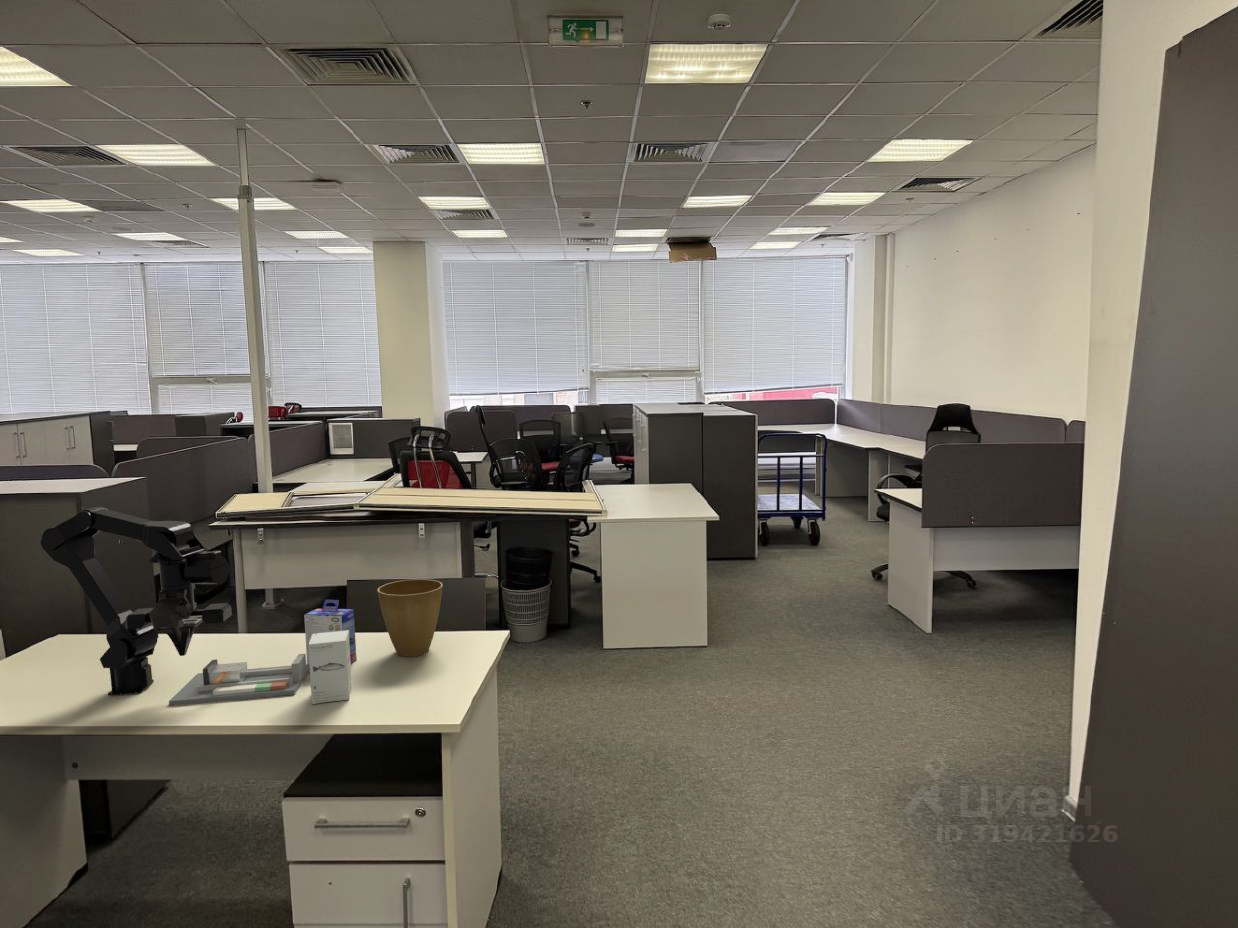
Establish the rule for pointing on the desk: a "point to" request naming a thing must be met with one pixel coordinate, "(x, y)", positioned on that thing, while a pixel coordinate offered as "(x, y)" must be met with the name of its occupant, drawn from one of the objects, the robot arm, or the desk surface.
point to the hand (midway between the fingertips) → (183, 655)
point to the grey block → (224, 672)
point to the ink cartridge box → (331, 624)
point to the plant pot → (411, 614)
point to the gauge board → (247, 685)
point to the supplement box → (330, 666)
